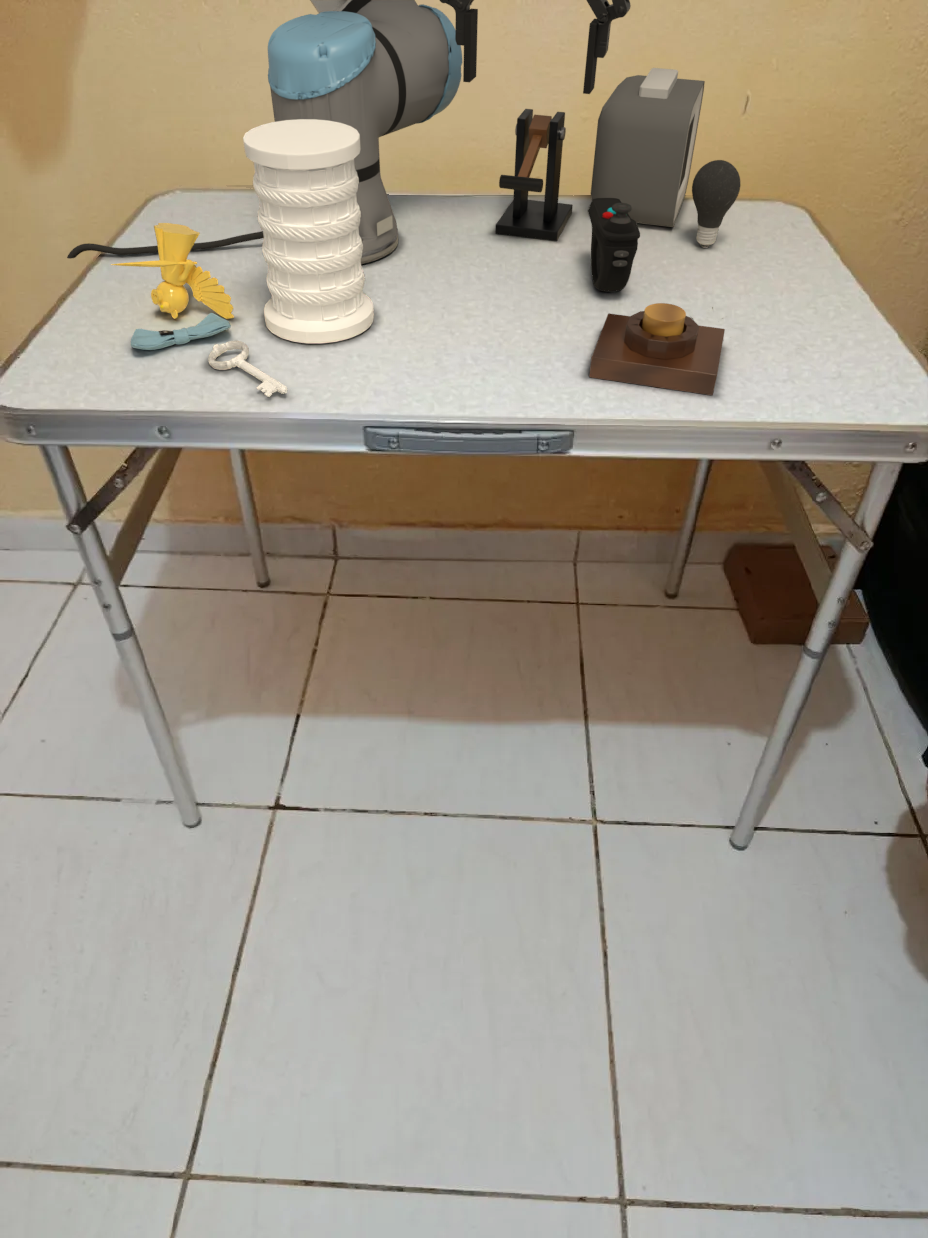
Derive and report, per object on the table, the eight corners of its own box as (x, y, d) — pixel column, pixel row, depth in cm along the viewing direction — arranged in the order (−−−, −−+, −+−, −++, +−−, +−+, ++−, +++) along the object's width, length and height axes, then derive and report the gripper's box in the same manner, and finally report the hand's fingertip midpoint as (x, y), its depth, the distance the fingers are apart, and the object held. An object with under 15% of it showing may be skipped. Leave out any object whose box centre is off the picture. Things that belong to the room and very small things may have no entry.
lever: (540, 198, 108) (540, 180, 106) (499, 194, 109) (498, 175, 107) (562, 135, 113) (563, 116, 111) (523, 131, 114) (522, 112, 112)
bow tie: (130, 345, 95) (136, 360, 91) (125, 329, 94) (131, 344, 90) (226, 324, 98) (236, 338, 94) (222, 309, 97) (232, 322, 93)
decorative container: (383, 298, 102) (374, 120, 90) (362, 347, 94) (349, 158, 81) (281, 292, 103) (258, 115, 91) (251, 339, 95) (222, 151, 82)
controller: (595, 308, 101) (606, 215, 95) (579, 263, 110) (588, 175, 104) (634, 307, 102) (647, 214, 95) (614, 262, 111) (625, 175, 104)
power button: (639, 335, 89) (641, 317, 88) (644, 317, 92) (647, 300, 91) (680, 340, 88) (683, 323, 87) (684, 322, 91) (688, 305, 90)
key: (196, 353, 91) (231, 333, 93) (200, 361, 92) (234, 341, 93) (266, 397, 85) (302, 375, 86) (269, 406, 86) (304, 383, 87)
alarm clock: (670, 234, 117) (693, 98, 107) (583, 223, 120) (597, 89, 109) (686, 192, 129) (708, 65, 118) (606, 183, 131) (620, 58, 120)
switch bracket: (556, 241, 115) (565, 129, 106) (495, 233, 117) (499, 123, 108) (572, 213, 122) (581, 106, 113) (513, 206, 124) (518, 101, 115)
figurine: (131, 244, 86) (131, 337, 90) (238, 244, 94) (233, 329, 98) (66, 212, 92) (70, 301, 96) (172, 214, 100) (171, 296, 104)
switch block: (589, 377, 90) (593, 339, 87) (605, 332, 97) (610, 296, 94) (712, 395, 88) (721, 357, 85) (720, 348, 95) (728, 311, 92)
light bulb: (725, 238, 116) (742, 154, 110) (729, 256, 112) (748, 169, 106) (680, 236, 117) (694, 152, 110) (683, 254, 113) (698, 167, 106)
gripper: (406, -169, 87) (411, 82, 102) (669, -158, 83) (634, 104, 97) (430, -174, 93) (431, 66, 107) (679, -163, 88) (644, 86, 102)
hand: (528, 85), depth 102 cm, fingers open, 13 cm apart
